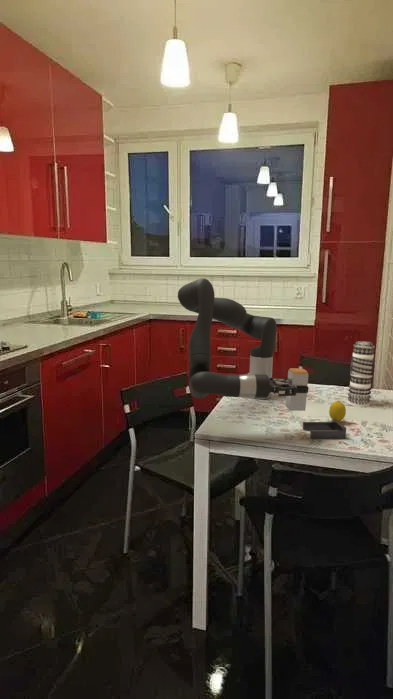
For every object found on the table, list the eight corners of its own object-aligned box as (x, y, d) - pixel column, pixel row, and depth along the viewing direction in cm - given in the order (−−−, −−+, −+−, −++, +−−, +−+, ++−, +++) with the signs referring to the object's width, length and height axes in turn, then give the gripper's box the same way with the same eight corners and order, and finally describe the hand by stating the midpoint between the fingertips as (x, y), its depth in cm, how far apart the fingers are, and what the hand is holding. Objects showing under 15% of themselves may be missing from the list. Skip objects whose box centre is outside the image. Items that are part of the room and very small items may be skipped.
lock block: (289, 410, 143) (292, 371, 141) (285, 405, 148) (288, 368, 146) (305, 410, 144) (308, 371, 141) (300, 406, 149) (303, 368, 146)
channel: (311, 438, 144) (311, 428, 143) (302, 428, 152) (303, 418, 152) (345, 438, 145) (346, 428, 144) (334, 428, 153) (335, 418, 153)
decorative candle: (341, 402, 183) (347, 341, 179) (355, 398, 189) (360, 339, 184) (361, 408, 176) (367, 344, 172) (375, 404, 182) (381, 342, 177)
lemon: (342, 426, 156) (344, 403, 154) (326, 423, 159) (328, 401, 157) (346, 421, 160) (348, 400, 159) (330, 418, 163) (332, 397, 162)
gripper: (258, 380, 136) (313, 381, 137) (249, 369, 150) (299, 370, 151) (256, 404, 137) (311, 405, 139) (247, 391, 151) (297, 392, 153)
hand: (305, 387), depth 145 cm, fingers closed on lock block, 5 cm apart
